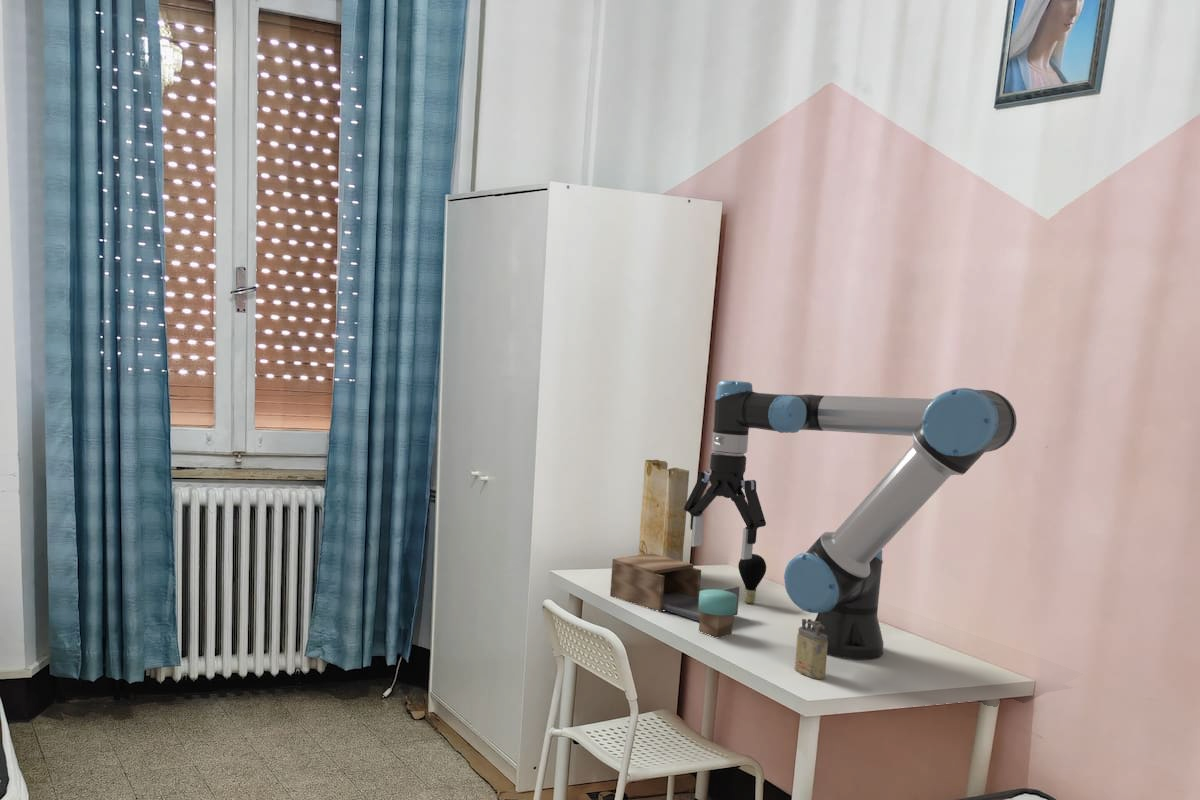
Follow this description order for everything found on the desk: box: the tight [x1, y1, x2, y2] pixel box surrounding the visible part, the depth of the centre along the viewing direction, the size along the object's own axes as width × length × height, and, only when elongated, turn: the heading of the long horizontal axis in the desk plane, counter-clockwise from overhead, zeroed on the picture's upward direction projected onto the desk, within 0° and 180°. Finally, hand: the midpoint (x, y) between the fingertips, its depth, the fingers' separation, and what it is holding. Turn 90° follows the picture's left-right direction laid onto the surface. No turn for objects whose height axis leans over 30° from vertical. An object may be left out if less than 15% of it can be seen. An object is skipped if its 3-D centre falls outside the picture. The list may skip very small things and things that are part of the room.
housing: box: [609, 553, 702, 612], centre depth 234 cm, size 16×14×9 cm
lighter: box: [793, 618, 828, 680], centre depth 186 cm, size 7×4×10 cm, turn 28°
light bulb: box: [738, 553, 767, 604], centre depth 237 cm, size 7×7×12 cm
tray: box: [662, 585, 740, 622], centre depth 226 cm, size 18×13×6 cm
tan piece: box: [638, 459, 690, 562], centre depth 258 cm, size 23×6×30 cm, turn 13°
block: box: [698, 611, 734, 638], centre depth 209 cm, size 5×5×5 cm
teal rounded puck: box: [698, 588, 737, 616], centre depth 209 cm, size 8×8×4 cm
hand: (720, 552), depth 209 cm, fingers open, 13 cm apart
